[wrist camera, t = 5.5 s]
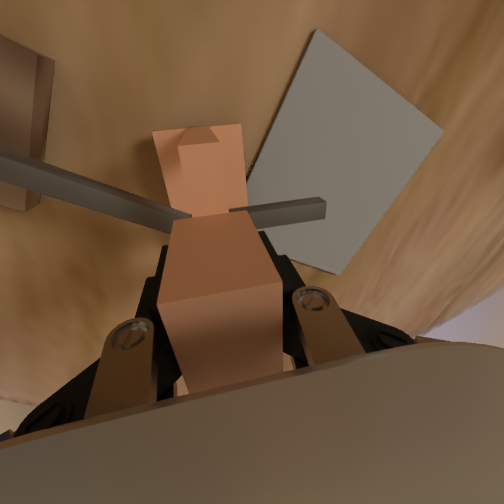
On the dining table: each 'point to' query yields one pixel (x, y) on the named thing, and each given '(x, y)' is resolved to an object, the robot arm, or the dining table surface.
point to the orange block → (216, 264)
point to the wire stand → (73, 185)
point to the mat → (337, 154)
